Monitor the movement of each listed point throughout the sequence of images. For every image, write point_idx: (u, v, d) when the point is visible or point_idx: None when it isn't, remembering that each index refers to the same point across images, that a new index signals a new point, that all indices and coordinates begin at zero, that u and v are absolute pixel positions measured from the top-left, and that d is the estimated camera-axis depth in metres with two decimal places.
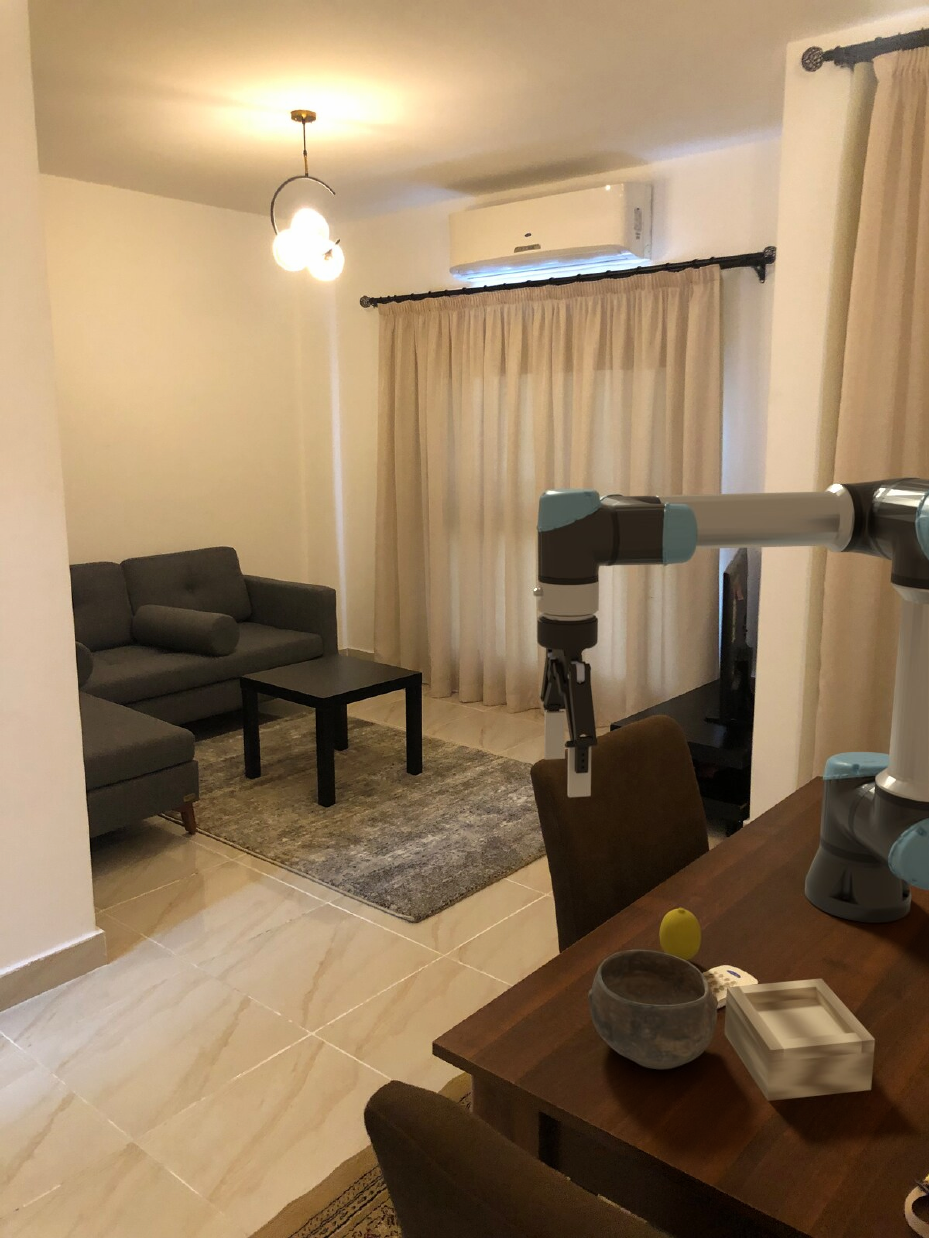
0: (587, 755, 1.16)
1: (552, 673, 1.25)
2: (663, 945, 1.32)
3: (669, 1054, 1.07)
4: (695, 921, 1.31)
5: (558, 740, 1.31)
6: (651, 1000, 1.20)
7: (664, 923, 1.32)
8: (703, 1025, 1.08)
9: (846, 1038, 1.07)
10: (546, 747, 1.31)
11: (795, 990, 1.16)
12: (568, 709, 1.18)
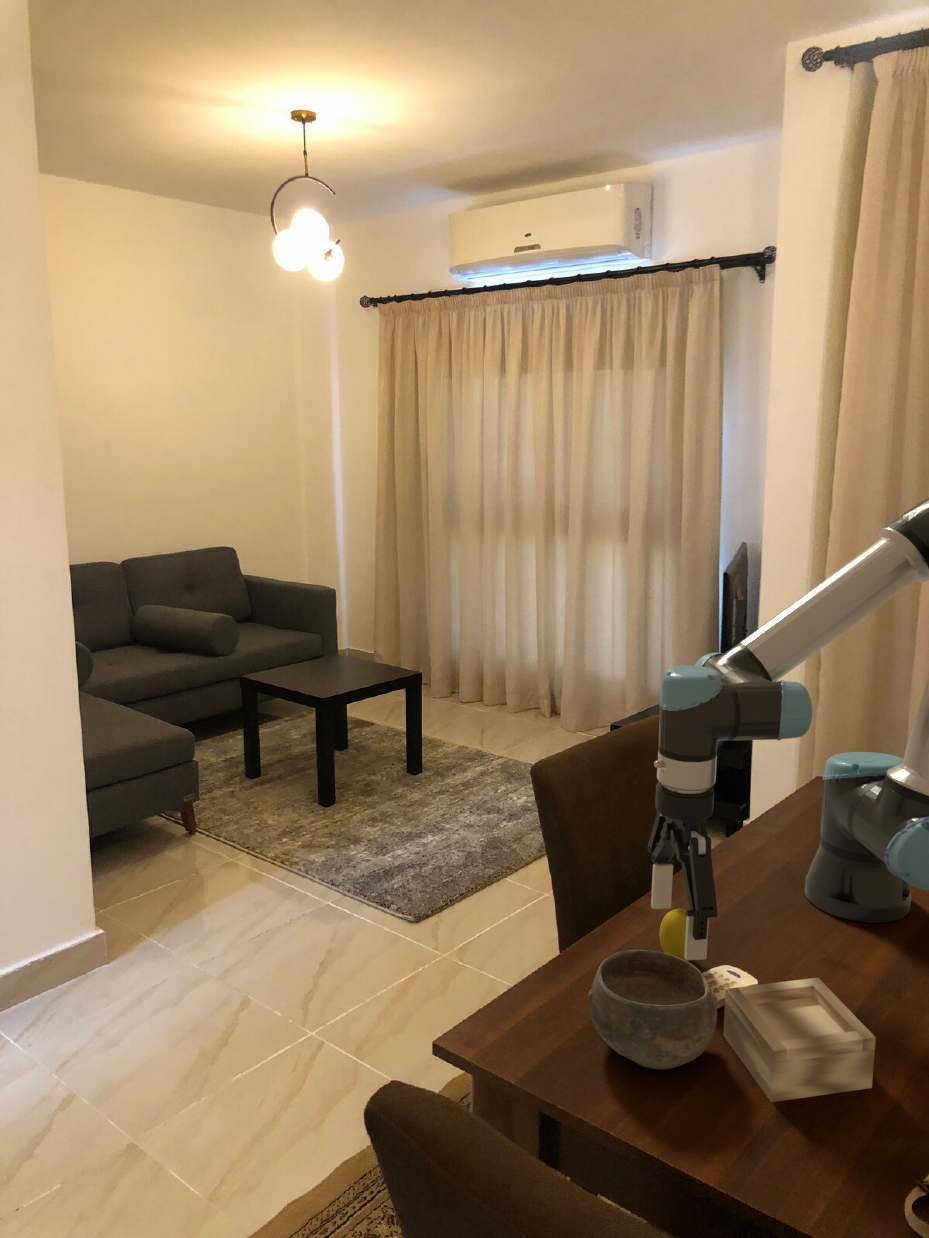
0: (706, 923, 1.23)
1: (667, 835, 1.32)
2: (663, 945, 1.32)
3: (669, 1054, 1.07)
4: None
5: (665, 891, 1.38)
6: (651, 1000, 1.20)
7: (664, 923, 1.32)
8: (703, 1025, 1.08)
9: (847, 1037, 1.07)
10: (654, 897, 1.38)
11: (793, 990, 1.16)
12: (687, 877, 1.25)
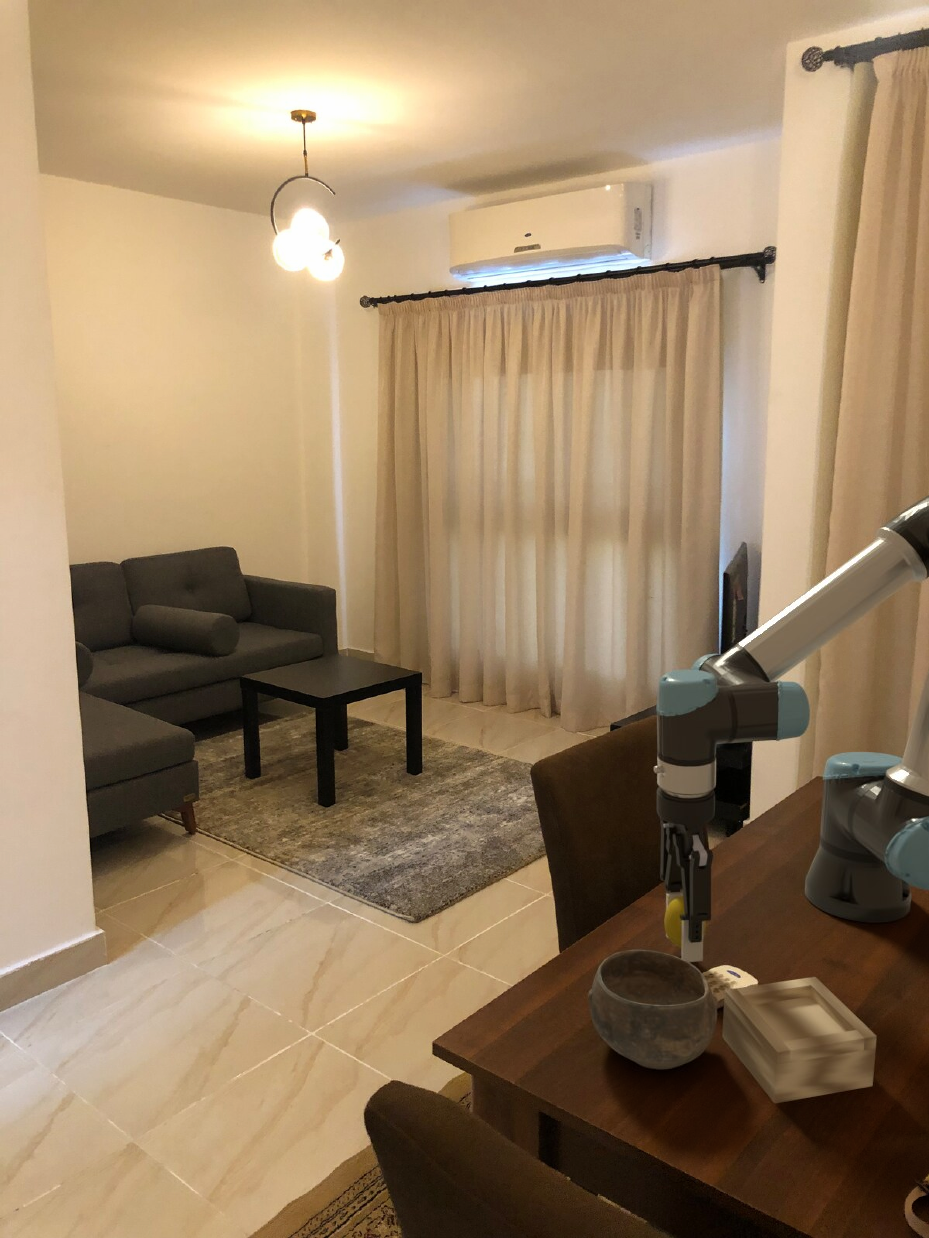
0: (701, 926, 1.28)
1: (671, 842, 1.31)
2: (668, 933, 1.32)
3: (669, 1054, 1.07)
4: None
5: None
6: (651, 1000, 1.20)
7: (668, 911, 1.32)
8: (703, 1025, 1.08)
9: (849, 1036, 1.07)
10: None
11: (791, 990, 1.16)
12: (685, 884, 1.27)
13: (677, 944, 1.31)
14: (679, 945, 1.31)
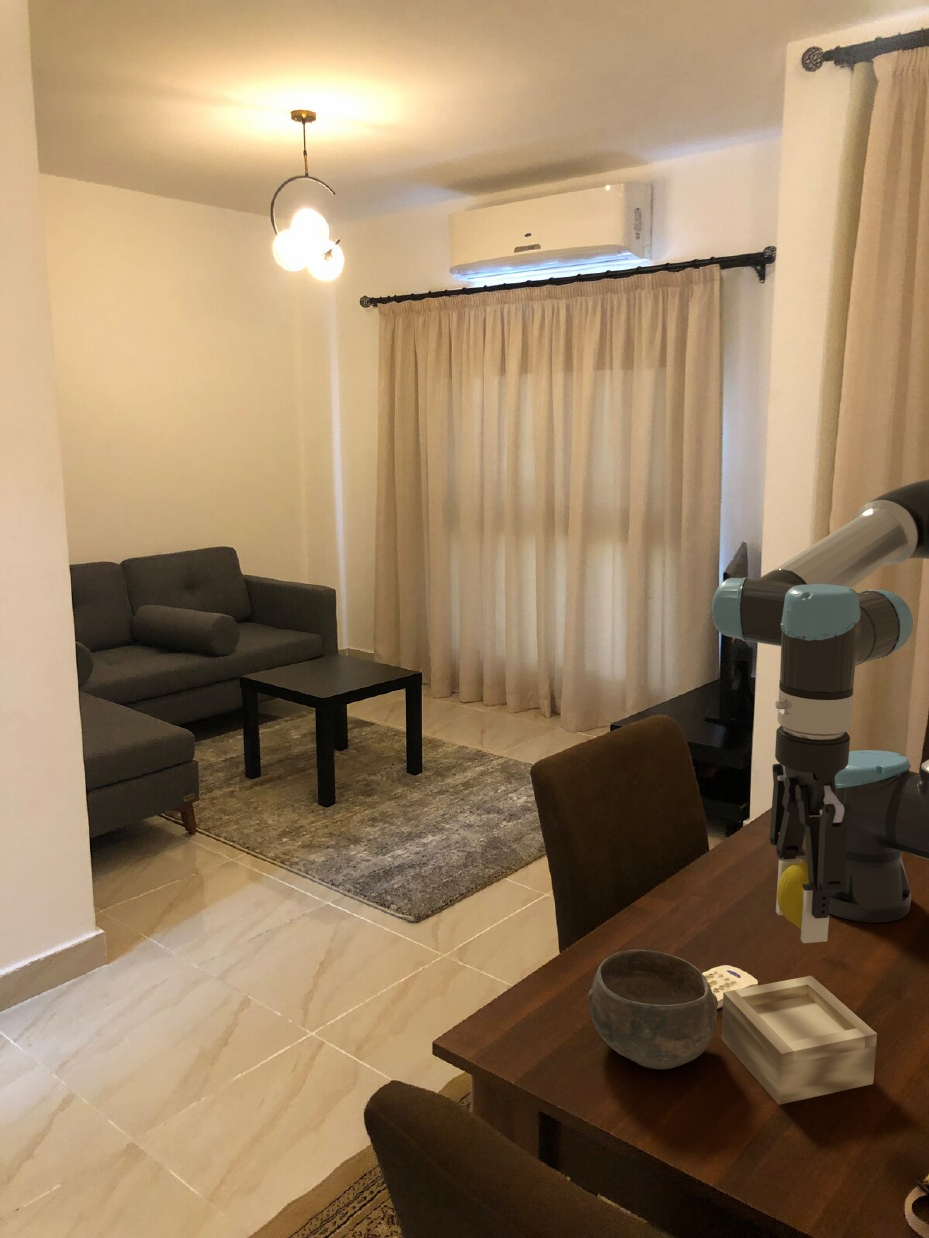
0: (829, 899, 1.04)
1: (791, 796, 1.08)
2: (783, 907, 1.08)
3: (669, 1054, 1.07)
4: None
5: None
6: (651, 1000, 1.20)
7: (784, 880, 1.08)
8: (703, 1025, 1.08)
9: (850, 1035, 1.07)
10: None
11: (789, 989, 1.16)
12: (811, 846, 1.04)
13: (794, 921, 1.08)
14: (797, 922, 1.08)
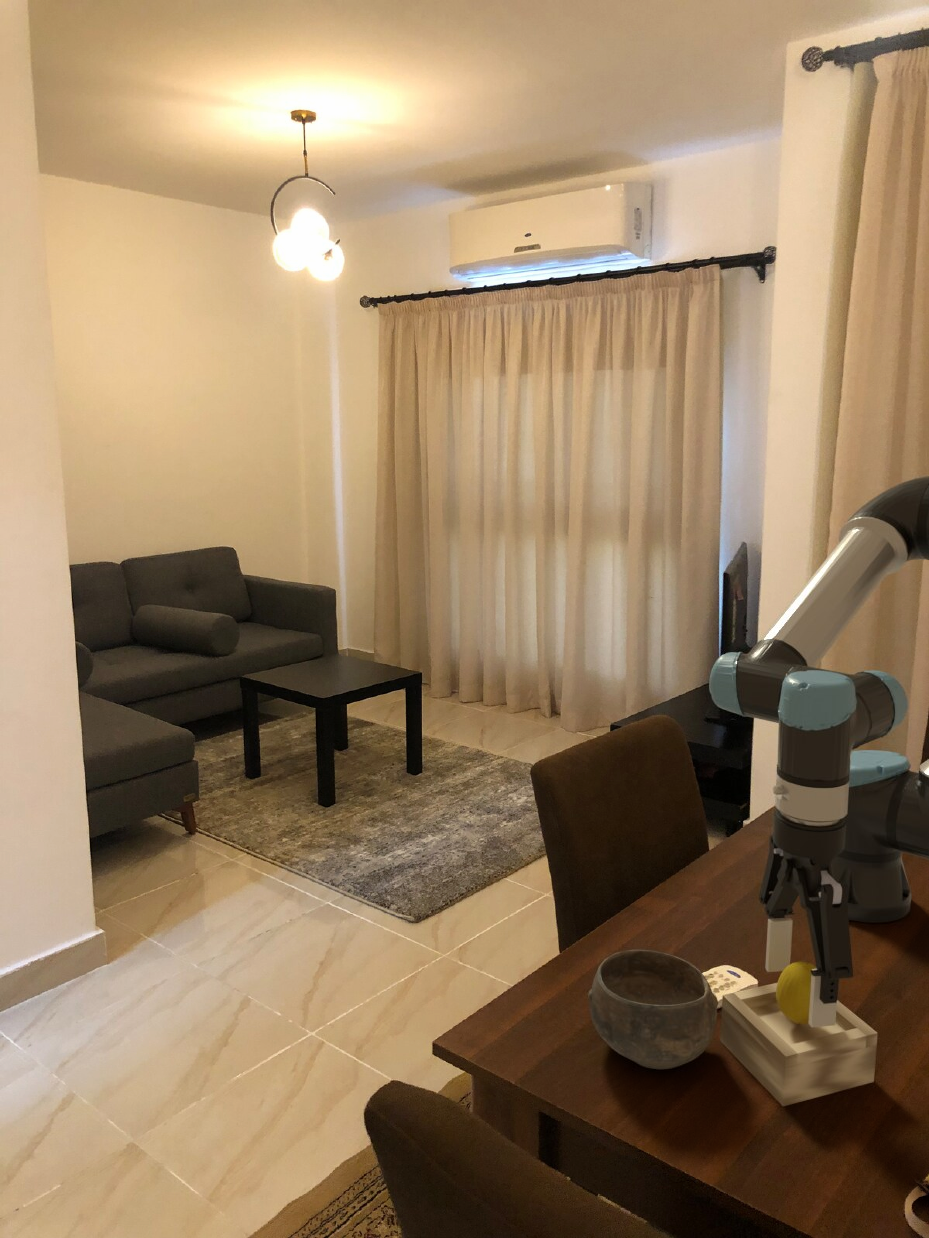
0: (837, 984, 1.03)
1: (786, 875, 1.10)
2: (782, 1004, 1.10)
3: (669, 1054, 1.07)
4: None
5: (783, 950, 1.16)
6: (651, 1000, 1.20)
7: (785, 979, 1.10)
8: (702, 1025, 1.08)
9: (851, 1035, 1.08)
10: (770, 958, 1.16)
11: None
12: (815, 929, 1.04)
13: (791, 1018, 1.10)
14: (793, 1020, 1.10)
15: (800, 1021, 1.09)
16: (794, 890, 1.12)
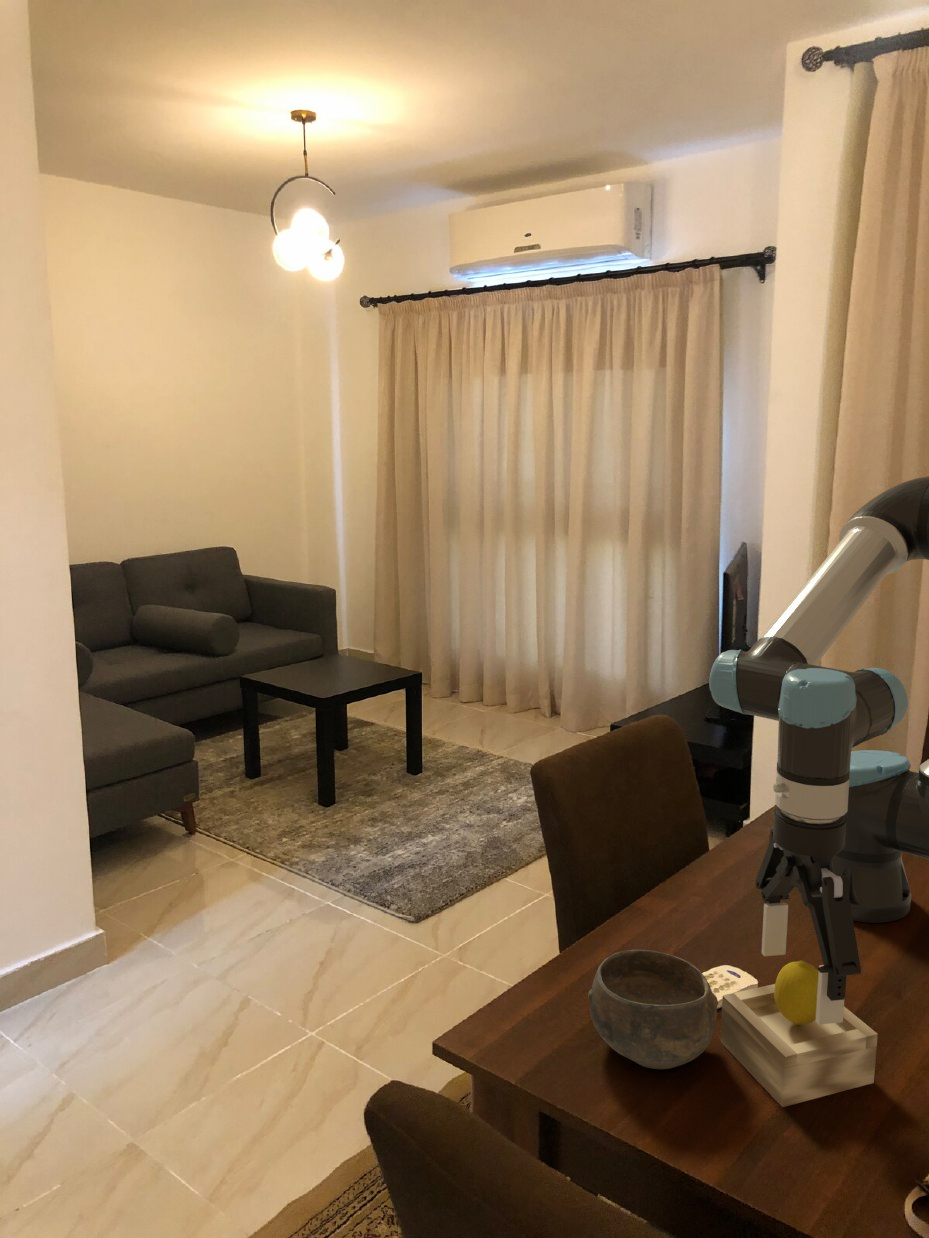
0: (845, 981, 1.02)
1: (786, 871, 1.10)
2: (780, 1005, 1.10)
3: (669, 1054, 1.07)
4: None
5: (779, 935, 1.17)
6: (651, 1000, 1.20)
7: (782, 978, 1.10)
8: (702, 1025, 1.08)
9: (851, 1035, 1.07)
10: (766, 943, 1.17)
11: None
12: (819, 925, 1.03)
13: (791, 1019, 1.10)
14: (793, 1020, 1.10)
15: (800, 1021, 1.09)
16: None
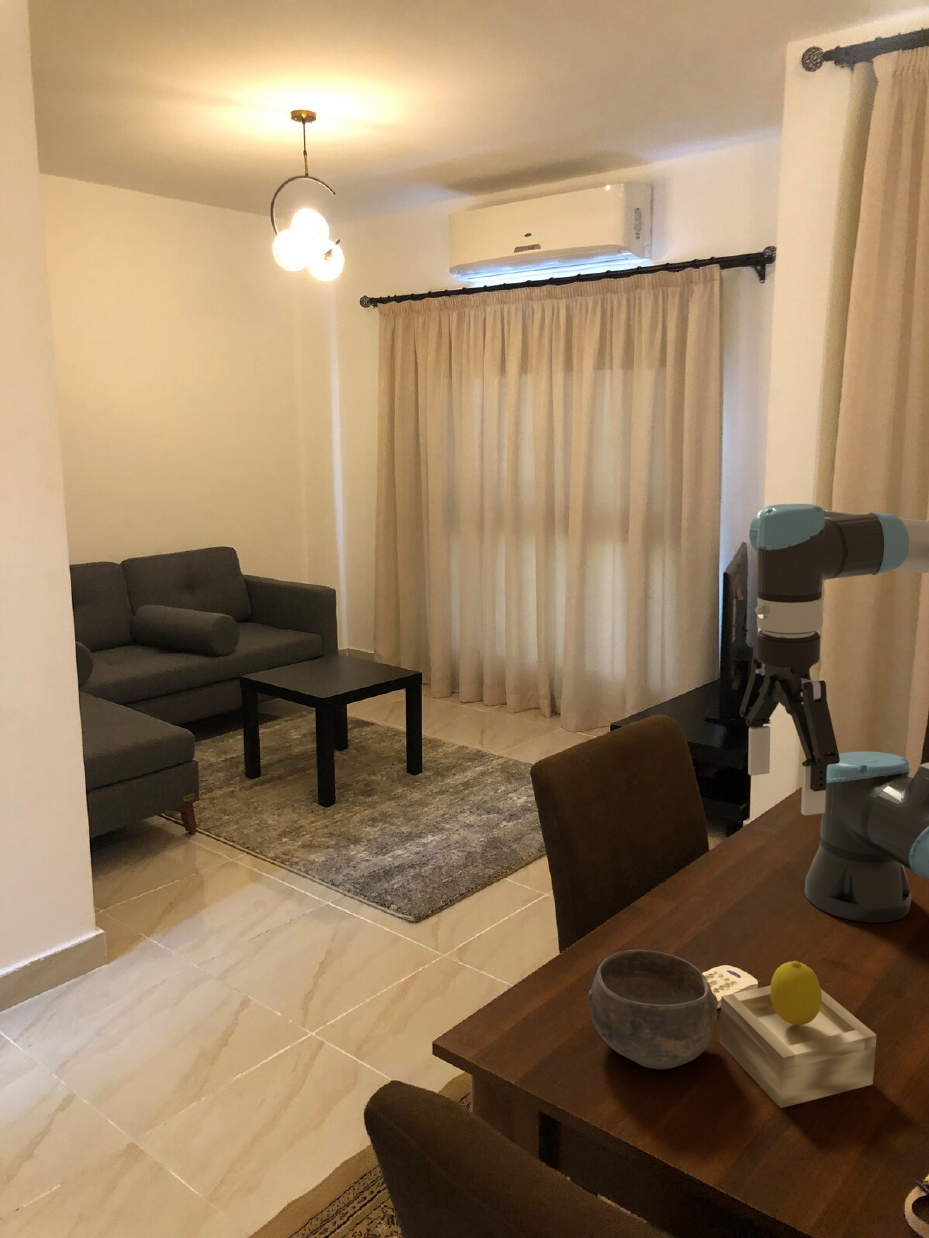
0: (826, 773, 1.16)
1: (768, 690, 1.23)
2: (778, 1008, 1.10)
3: (669, 1054, 1.07)
4: (814, 975, 1.10)
5: (763, 755, 1.30)
6: (651, 1000, 1.20)
7: (777, 981, 1.10)
8: (702, 1025, 1.08)
9: (850, 1037, 1.07)
10: (752, 763, 1.30)
11: None
12: (801, 727, 1.17)
13: (790, 1021, 1.10)
14: (792, 1022, 1.09)
15: (799, 1022, 1.09)
16: (773, 703, 1.26)
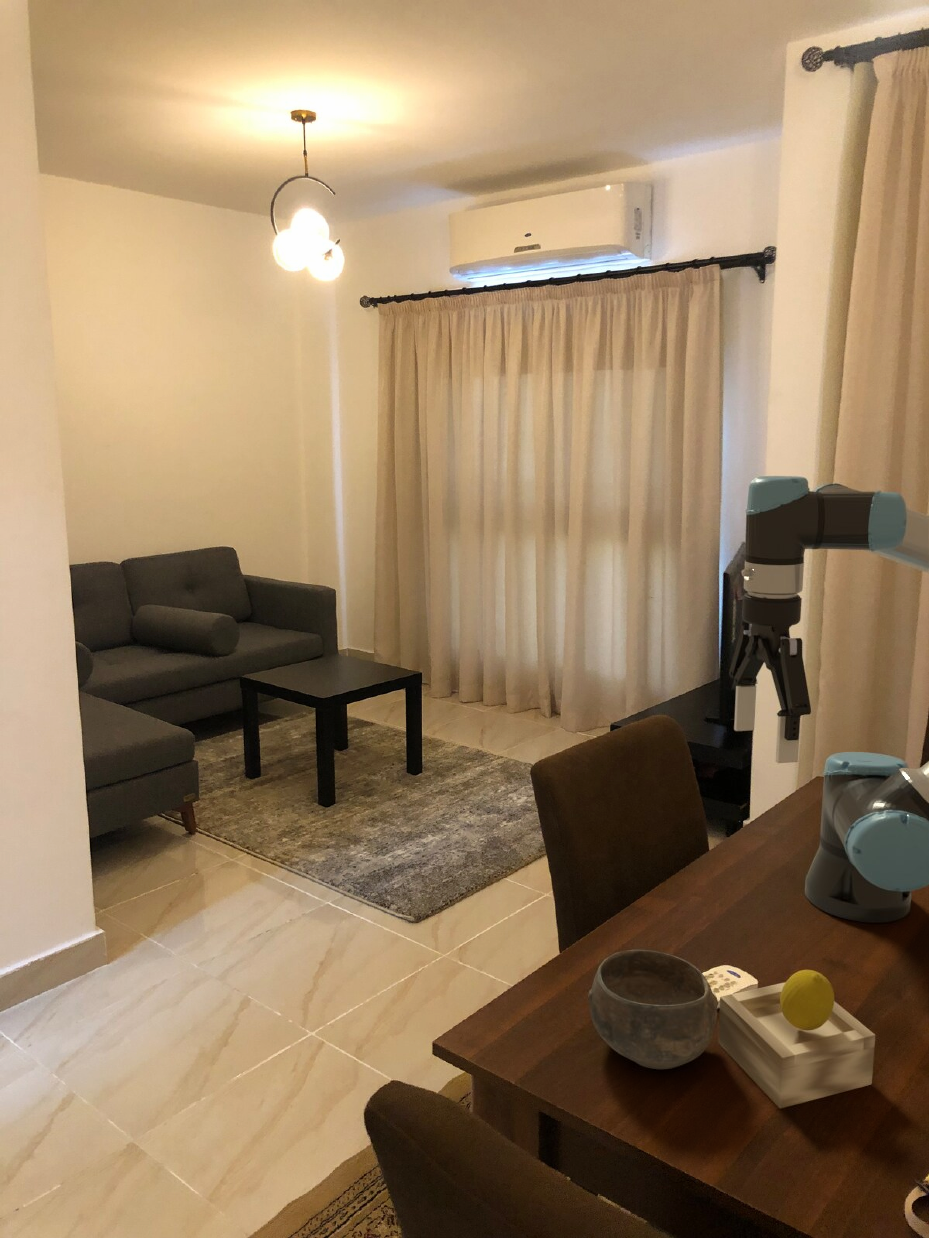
0: (799, 723, 1.25)
1: (753, 649, 1.33)
2: (793, 1018, 1.08)
3: (669, 1054, 1.07)
4: (831, 987, 1.08)
5: (749, 713, 1.40)
6: (651, 1000, 1.20)
7: (798, 995, 1.07)
8: (703, 1025, 1.08)
9: (849, 1037, 1.07)
10: (737, 719, 1.40)
11: None
12: (778, 681, 1.27)
13: (801, 1028, 1.08)
14: (803, 1029, 1.09)
15: (810, 1029, 1.08)
16: (758, 662, 1.36)
